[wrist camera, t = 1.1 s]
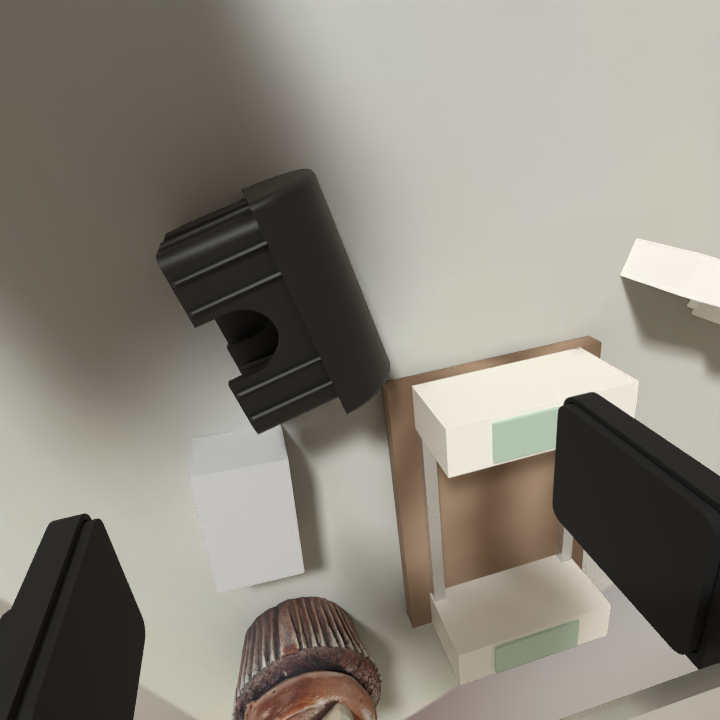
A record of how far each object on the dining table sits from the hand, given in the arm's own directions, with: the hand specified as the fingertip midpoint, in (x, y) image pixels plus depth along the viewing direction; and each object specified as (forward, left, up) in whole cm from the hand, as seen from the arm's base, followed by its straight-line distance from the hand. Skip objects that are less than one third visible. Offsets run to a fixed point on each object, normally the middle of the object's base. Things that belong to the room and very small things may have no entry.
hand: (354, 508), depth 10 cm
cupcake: (+3, +26, -19) cm, 32 cm away
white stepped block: (-27, +6, -19) cm, 33 cm away
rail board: (-12, +17, -18) cm, 28 cm away
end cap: (0, 0, -19) cm, 19 cm away
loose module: (+4, +12, -19) cm, 23 cm away
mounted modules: (-12, +17, -17) cm, 27 cm away
